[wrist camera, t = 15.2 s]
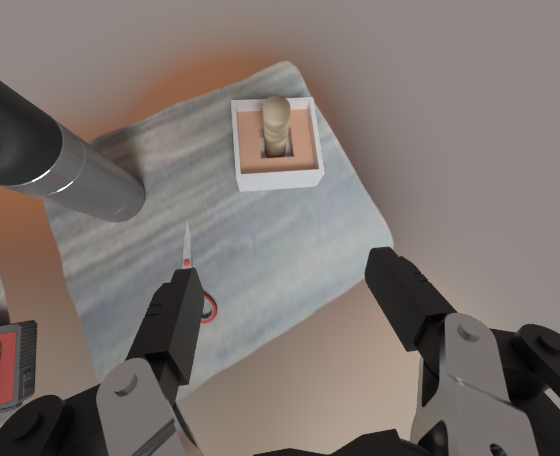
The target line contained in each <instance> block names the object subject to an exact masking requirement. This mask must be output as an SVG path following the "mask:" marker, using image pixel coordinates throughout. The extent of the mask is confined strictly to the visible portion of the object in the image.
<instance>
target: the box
mask: <svg viewBox="0 0 560 456" xmlns="http://www.w3.org/2000/svg"><path fill="white" fill-rule="evenodd" d="M285 99H287V100H288V102H289V103H290V107H291V109H290V118H289V126H288V134H287V142H286V151H285V155H284V157H279V158H267V156H266V154H265V142H264V122H263V103H264V101H265V100H266V99H253V100H231V111H232V126H233V140H234V154H235V169H236V180H237V183H238V187H239V190H240V192H245V191H259V190H272V189H286V188H300V187H314V186H317V185H318V183H319V181H320V180H321V178H322V176H323V175H324V167H323V160H322V153H321V147H320V140H319V133H318V126H317V120H316V113H315V106H314V100H313V97H306V98H285Z"/></svg>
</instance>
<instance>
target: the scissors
mask: <svg viewBox="0 0 560 456" xmlns="http://www.w3.org/2000/svg"><path fill="white" fill-rule="evenodd" d="M186 268H192V252H191V238H190V231H189V226H188V222H187V219H186V225H185V233H184V245H183V262H182V269H186ZM204 299H205V300H206V301H207V302H208V303H209V304H210V305H211V307H212V313H211V315H210V316H209V317H207V318H204V317H201V323H208V322H210V321H212V320H213V319H214V318H215V316H216V314H217V306H216V303H215V302H214V300H213V299H212V298H211V297H210V296H208V295H207V294H205V293H204Z"/></svg>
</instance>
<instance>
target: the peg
mask: <svg viewBox="0 0 560 456" xmlns="http://www.w3.org/2000/svg"><path fill="white" fill-rule="evenodd" d="M290 109H291V107H290V103H289V102H288V100H287V99H285V98H284V97H282V96H277V95H275V96H271V97H269V98H267V99H266V100H265V101H264V103H263V122H264V142H265V154H266V156H267V158H279V157H284V155H285V151H286V142H287V134H288V126H289V118H290Z"/></svg>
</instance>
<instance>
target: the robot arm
mask: <svg viewBox="0 0 560 456" xmlns="http://www.w3.org/2000/svg"><path fill="white" fill-rule="evenodd" d="M0 186H1V187H4V188H7V189H10V190H13V191H17V192H20V193H23V194H27V195H29V196H32V197H35V198H39V199H42V200H45V201H48V202H51V203H54V204H57V205H60V206H63V207H66V208H69V209H72V210H76V211H79V212H82V213H85V214H88V215H91V216H94V217H97V218H100V219H103V220H106V221H110V222H122V221H125V220H128V219H130V218H132V217H133V216H135V215H136V214H137V213H138V212H139V211H140V209H141V208H142V206H143V203H144V200H145V191H144V188H143V186H142V184H141V183H140V182H139V181H138V180H137V179H136V178H135V177H133V176H132V175H130V174H129V173H128V172H126V171H125V170H124V169H122V168H121V167H120V166H118V165H117V164H115V163H114V162H113V161H111V160H110V159H109V158H107V157H106V156H104V155H103V154H102V153H100V152H99V151H97V150H96V149H95V148H93V147H92V146H91V145H89V144H88V143H86V142H85V141H83V140H82V139H81V138H79V137H78V136H77V135H75V134H74V133H73V132H71V131H70V130H68V129H67V128H65V127H64V126H62V125H61V124H60V123H59V122H57V121H56V120H54V119H53V118H51V117H50V116H49V115H47V114H46V113H45V112H43V111H42V110H41V109H39V108H38V107H36V106H35V105H33V104H32V103H30V102H29V101H28V100H26V99H25V98H23V97H22V96H20V95H19V94H18V93H16V92H15V91H14V90H12V89H11V88H9V87H8V86H7V85H5V84H4V83H3V82H1V81H0ZM365 280H366V283H367V285H368V287H369V288H370V290H371V292H372V294H373V295H374V297H375V298H376V300H377V302H378V304H379V305H380V307H381V309H382V310H383V312H384V314H385V315H386V317H387V319H388V321H389V322H390V324H391V326H392V327H393V329H394V331H395V332H396V334H397V336H398V338H399V339H400V341H401V343H402V344H403V346H404V348H405V350H406V351H407V352H410V351H416V350H418V351H419V353H420V354H421V358H420V364H419V380H418V396H417V410H416V415H415V418H414V421H413V424H412V429H411V435H410V436H411V437H410V441H407V440H403V439H400V438H399V436H398V433H397V431H396V429H391V430H386V431H381V432H375V433H370V434H364V435H361V436H360V437H358V438H356V439H355V440H353V441H352V442H350V443H348V444H347V445H345V446H343V447H342V448H341V449H339V450H337V451H335V452H334V453H332V454H329V455H325V454H320V453H314V452H308V451H303V450H297V449H292V448H288V449H282V450H277V451H271V452H266V453H261V454H255V455H253V456H560V409H559V408H558V407H557V406H556V405H555V404H554V403H553V402H552V400H551V399H550V398H549V397H548V396H547V395H546V394H545V393H544V391H546V390H547V389H549V388H551V389H552V390H553V391H554V392H555V393H556V394H557V395H558V397H559V398H560V334H558V333H557V332H555V331H553V330H551V329H548V328H546V327H543V326H539V325H535V324H527V325H524V326H522V327H521V328H520V329H519V330H518V331H517V332H516V333H515V332H509V331H502V330H496V329H490V328H487V326H486V325H484V324H483V323H482V322H480V321H479V320H477V319H475V318H473V317H471V316H469V315H466V314H462V313H457V311H456V310H455V309H454V308H453V307H452V306H451V305H450V304H449V303H448V301H447V300H446V299H445V298H444V297H443V296H442V295H441V294H440V293H439V292H438V290H436V288H435V287H434V286H433V285H432V284H431V283H430V282H428V279H427V278H426V277H425V276H424V275H423V274H421V272H420V271H419V270H418V268H417V267H416V266H415V265H414V264H413V263H411V262H410V261H408V260H407V259H405V258H404V257H402V256H400V257H398V255H397V254H396V253H395V252H394V251H393V250H392V249H391V248H390V247H380V248H372V249H371V250H370V253H369V257H368V261H367V265H366V269H365ZM203 307H204V292H203V289H202V286H201V283H200V280H199V277H198V274H197V271H196V269H195V268H186V269H177V270H175V272H174V274H173V277H172V280H171V282H170V283H163V285H162V286H161V287H160V288H159V289H158V290H157V291H156V292H155V293H154V295H153V298H152V300H151V302H150V305H149V307H148V309H147V312H146V314H145V317H144V319H143V321H142V323H141V326H140V328H139V330H138V332H137V335H136V337H135V339H134V342H133V344H132V346H131V349H130V351H129V353H128V356H127V358H126V359H125V361H124V362H122V363H121V364H119V365H118V366H116V367H115V368H114V369H113V370H112V371H111V372H110V373H109V374H108V375H107V376H106V377H105V378H104V380H103V381H102V383H100V384H98V385H97V386H94V387H92V388H90V389H88V390H86V391H83V392H81V393H79V394H77V395H75V396H72V397H70V398H68V399H66V400H62V399H61V398H59V397H58V396H55V395H45V396H42V397H39V398H37V399H35V400H33V401H31V402H29V403H28V404H26V405H24V406H23V407H22V408H20V409H19V410H18V411H17V412H16V413H14V414H13V415H12V416H11V417H10V418H9V419H8V420H7V421H6V422H5V423H4V425H3V426H2V427H1V428H0V456H204V455H203V453H202V452H201V450H200V448H199V446H198V444H197V442H196V440H195V438H194V436H193V434H192V432H191V430H190V428H189V426H188V423H187V422H186V419H185V417H184V415H183V413H182V411H181V409H180V407H179V405H178V403H177V401H176V395H177V391H178V386H182V385H188V384H189V380H190V375H191V370H192V365H193V359H194V354H195V349H196V343H197V338H198V333H199V328H200V322H201V317H202V312H203Z"/></svg>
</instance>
